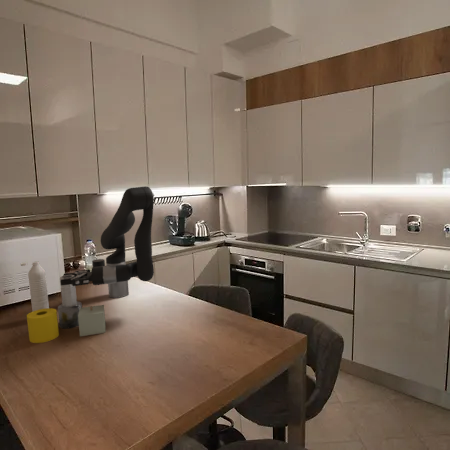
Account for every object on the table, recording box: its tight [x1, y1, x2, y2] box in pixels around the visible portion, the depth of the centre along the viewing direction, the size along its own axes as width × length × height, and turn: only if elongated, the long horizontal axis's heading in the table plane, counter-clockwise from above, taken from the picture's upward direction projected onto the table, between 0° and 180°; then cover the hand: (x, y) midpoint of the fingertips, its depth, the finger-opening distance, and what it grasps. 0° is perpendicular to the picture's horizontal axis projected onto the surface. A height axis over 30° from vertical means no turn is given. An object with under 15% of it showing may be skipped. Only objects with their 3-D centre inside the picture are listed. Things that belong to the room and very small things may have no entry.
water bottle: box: [20, 261, 50, 312], centre depth 152 cm, size 9×6×25 cm
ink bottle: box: [90, 258, 106, 272], centre depth 208 cm, size 10×9×12 cm
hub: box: [57, 300, 83, 329], centre depth 146 cm, size 9×9×10 cm
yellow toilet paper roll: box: [26, 307, 60, 344], centre depth 134 cm, size 10×10×9 cm
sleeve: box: [59, 274, 78, 308], centre depth 145 cm, size 5×5×12 cm
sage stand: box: [78, 304, 107, 337], centre depth 139 cm, size 9×9×10 cm
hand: (62, 279), depth 143 cm, fingers open, 8 cm apart
